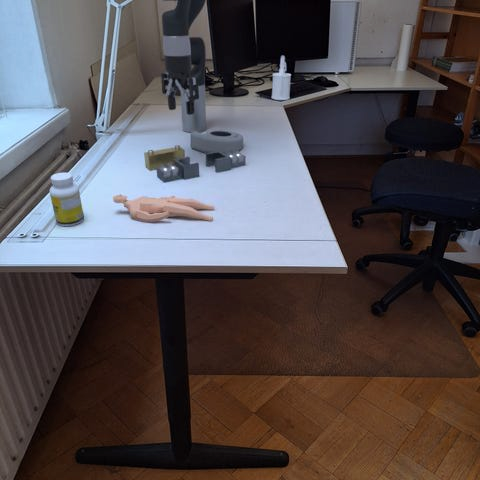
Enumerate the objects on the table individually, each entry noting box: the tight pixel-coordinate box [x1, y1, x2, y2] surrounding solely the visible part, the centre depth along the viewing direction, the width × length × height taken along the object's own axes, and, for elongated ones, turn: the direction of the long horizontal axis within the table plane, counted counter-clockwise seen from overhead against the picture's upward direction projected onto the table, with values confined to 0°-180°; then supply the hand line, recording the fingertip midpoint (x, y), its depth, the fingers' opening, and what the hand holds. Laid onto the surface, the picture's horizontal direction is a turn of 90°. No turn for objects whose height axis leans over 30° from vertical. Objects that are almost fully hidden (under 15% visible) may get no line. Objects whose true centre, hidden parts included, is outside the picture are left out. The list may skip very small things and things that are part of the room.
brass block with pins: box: [143, 145, 186, 172], centre depth 139 cm, size 4×12×6 cm, turn 122°
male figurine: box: [112, 194, 215, 223], centre depth 110 cm, size 11×5×25 cm
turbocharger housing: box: [189, 129, 244, 154], centre depth 154 cm, size 17×6×15 cm
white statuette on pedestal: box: [271, 55, 292, 101], centre depth 219 cm, size 10×9×20 cm
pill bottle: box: [49, 172, 85, 227], centre depth 104 cm, size 6×6×12 cm
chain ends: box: [156, 150, 246, 183], centre depth 135 cm, size 7×28×4 cm, turn 122°
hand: (181, 111), depth 132 cm, fingers open, 8 cm apart
